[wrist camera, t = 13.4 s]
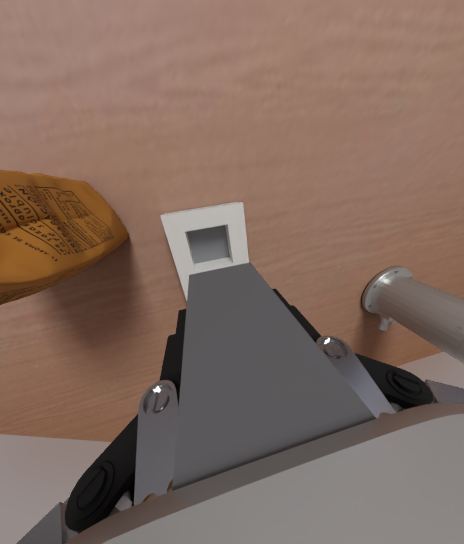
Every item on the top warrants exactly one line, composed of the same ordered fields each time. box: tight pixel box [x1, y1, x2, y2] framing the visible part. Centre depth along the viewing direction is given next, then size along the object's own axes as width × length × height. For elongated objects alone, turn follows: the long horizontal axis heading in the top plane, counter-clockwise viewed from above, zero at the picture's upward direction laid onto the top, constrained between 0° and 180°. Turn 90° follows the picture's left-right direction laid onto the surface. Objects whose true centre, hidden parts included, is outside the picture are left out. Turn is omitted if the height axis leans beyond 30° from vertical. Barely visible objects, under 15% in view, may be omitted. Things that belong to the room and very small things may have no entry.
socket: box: [160, 201, 249, 301], centre depth 28 cm, size 20×12×4 cm, turn 8°
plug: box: [172, 262, 377, 491], centre depth 8 cm, size 4×4×12 cm
